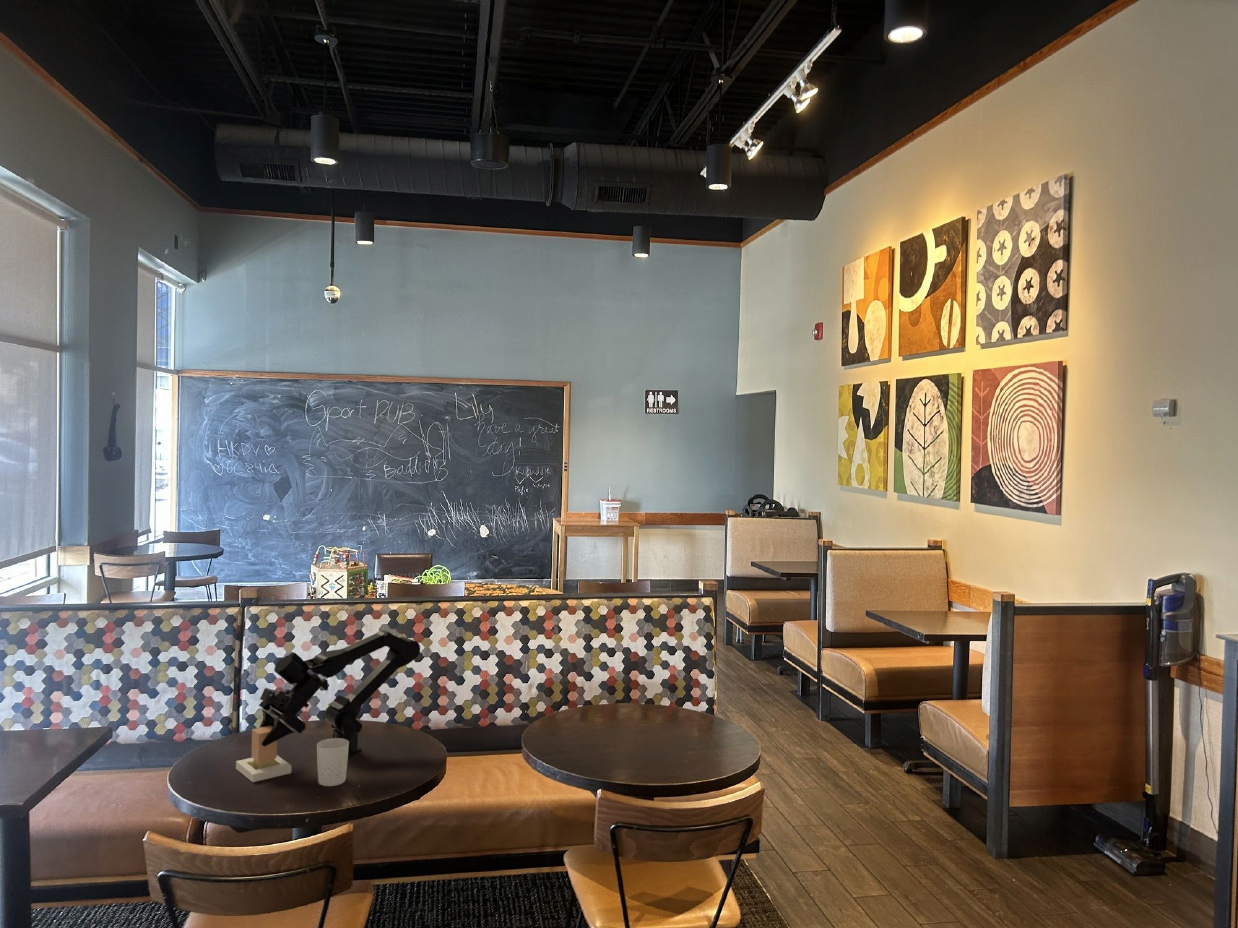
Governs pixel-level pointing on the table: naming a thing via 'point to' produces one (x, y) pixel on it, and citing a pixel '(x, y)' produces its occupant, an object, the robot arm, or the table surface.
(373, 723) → the table surface
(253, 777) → the socket
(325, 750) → the white cup
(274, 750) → the plug
